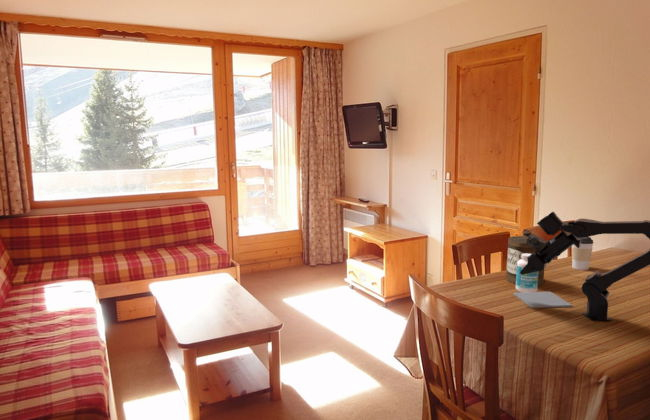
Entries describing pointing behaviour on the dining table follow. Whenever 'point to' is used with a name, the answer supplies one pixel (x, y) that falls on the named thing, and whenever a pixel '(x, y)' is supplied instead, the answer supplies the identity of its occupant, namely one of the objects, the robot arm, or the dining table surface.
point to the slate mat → (542, 299)
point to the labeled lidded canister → (519, 256)
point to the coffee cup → (582, 254)
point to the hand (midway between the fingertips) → (523, 271)
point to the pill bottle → (526, 277)
